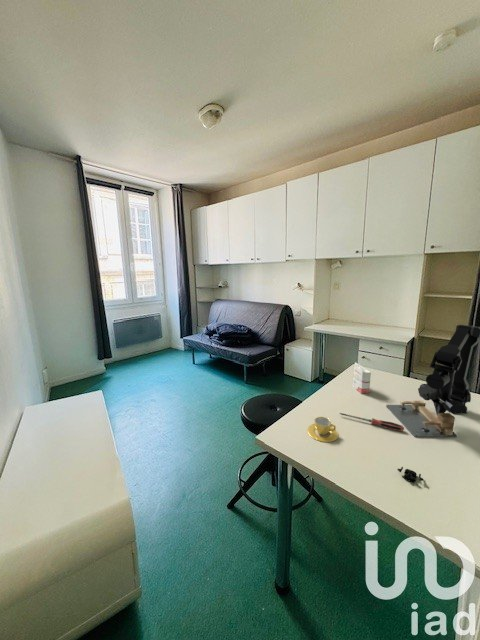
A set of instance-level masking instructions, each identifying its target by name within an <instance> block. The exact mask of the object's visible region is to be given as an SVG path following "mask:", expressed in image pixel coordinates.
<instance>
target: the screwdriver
mask: <svg viewBox="0 0 480 640" xmlns="http://www.w3.org/2000/svg"><path fill="white" fill-rule="evenodd" d="M339 415H341V416H346V417H349V418H353V419H358V420H361V421H366V422H369V423H371V425H375V426H376V425H377V426H379V427H381V428H386V429H389V430H392V431H399V432H403V431H404V430H405V426H404V425H403V424H402V425H401V424H399V423H396V422H393V421H387V420H382V419H375V418H374V417H372V418H371V419H369V418H364V417H359V416H355V415H352V414H346V413H342V412H339Z"/></svg>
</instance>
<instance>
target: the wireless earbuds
mask: <svg viewBox="0 0 480 640" xmlns="http://www.w3.org/2000/svg"><path fill="white" fill-rule="evenodd" d="M403 469H404V466H401V467H400V468H397V471H398V472H399V473H402V470H403ZM417 476H418V480H419V481H421V482H423V481H424V478H423V477H421V476H422V474H421V473H419V474H418V475H417V472H416V471H414V470H413V469H412V470H411V469H410V468H405V470H404V475H403V479H404V480H406V481H408V482H410V483H413V484H414V483H416V479H417Z"/></svg>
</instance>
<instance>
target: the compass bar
mask: <svg viewBox="0 0 480 640" xmlns="http://www.w3.org/2000/svg"><path fill="white" fill-rule="evenodd" d="M399 404H400V405H402V408H403V409H404V405H413V406H412V407H413V408H414V409H417V410H419V411H420V412H421V413H422V414H423V415H424V416H425V417H426V418H428V419H429V420H430V421H437V415H436V414H434V413H433V412H432V411H431V410H429V409H428V408H427V407H426V405H427V403H426V402H425V401H424V400H409V401H408V400H407V401H406V400H402V401H400V402H399ZM435 426H436V425H435ZM453 432H454V429H453V430H452V429H451V428H443V433H444V434H445V435H452V434H453Z"/></svg>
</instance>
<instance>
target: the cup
mask: <svg viewBox="0 0 480 640" xmlns="http://www.w3.org/2000/svg"><path fill="white" fill-rule="evenodd" d="M316 432H317V433H318V434H319V435H318V434H317V433H316ZM307 433H308V435H309V436H310V437H311V438H312V439H313V440H316V441H317V442H324V443H329V442H331V443H332V442H334V441H336V440H337V439H338V438H339V432H338V430H337V426H336V425H335V424H334V423H332V421H331V419H330V418H327V417H326V416H325V417H324V416H318V417H315V419H314V423H313V424H310V425H309V426H308V427H307ZM328 433H329V434H330V435H328V436H325V437H324V435H327V434H328ZM320 435H321V436H320Z"/></svg>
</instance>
